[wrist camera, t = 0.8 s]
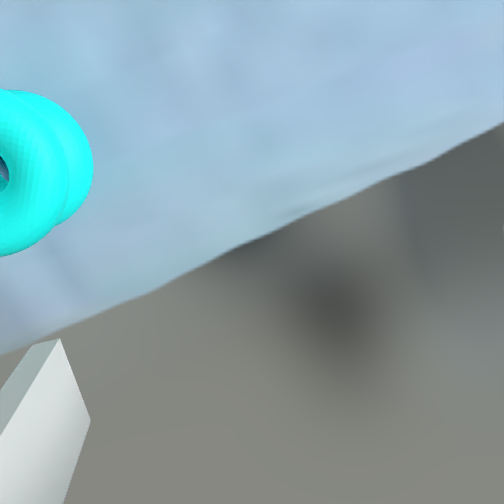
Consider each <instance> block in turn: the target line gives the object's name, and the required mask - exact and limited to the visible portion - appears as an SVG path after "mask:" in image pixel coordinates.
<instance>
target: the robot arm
mask: <svg viewBox="0 0 504 504" xmlns="http://www.w3.org/2000/svg"><path fill="white" fill-rule="evenodd" d="M503 227H504V226H503ZM89 424H90V418H89V415H88V412H87V410H86V407H85V404H84V402H83V399H82V396H81V394H80V391H79V389H78V386H77V383H76V381H75V378H74V375H73V373H72V370H71V367H70V365H69V362H68V359H67V357H66V354H65V351H64V349H63V346H62V344H61V341H60V339H55V340H51V341H47V342H43V343H39V344H35V345H32V346H31V348H30V349H29V350H28V352H27V353H26V355H25V356H24V358H23V359H22V360H21V362H20V363H19V365H18V366H17V367H16V369H15V370H14V372H13V373H12V374H11V376H10V377H9V379H8V380H7V382H6V383H5V384H4V386H3V387H2V389H1V390H0V504H63V502H64V499H65V496H66V493H67V490H68V487H69V484H70V481H71V478H72V475H73V472H74V469H75V466H76V463H77V460H78V457H79V454H80V451H81V448H82V445H83V442H84V439H85V436H86V433H87V430H88V427H89Z"/></svg>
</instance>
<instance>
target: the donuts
mask: <svg viewBox="0 0 504 504" xmlns="http://www.w3.org/2000/svg"><path fill="white" fill-rule="evenodd" d="M0 156H1V157H2V158H3V160H4V161H5V163H6V165H7V167H8V171H9V181H7V180H5V179H4V178H3V177H2V175H1V174H0V257H1V256H7V255H11V254H14V253H17V252H20V251H22V250H24V249H27V248H29V247H30V246H32V245H34V244H35V243H37V242H38V241H39V240H41V239H42V238H43V237H44V236H45V235H47V234H48V233H49V232H50V230H51V229H52V228H53V227H54V226H56V225H58V224H60V223H62V222H64V221H65V220H67V219H68V218H69V217H71V216H72V215H73V214H74V213H75V212H76V211H77V210H78V209H79V208H80V206H81V205H82V204H83V202H84V200H85V199H86V197H87V195H88V193H89V190H90V187H91V183H92V178H93V158H92V153H91V149H90V146H89V143H88V141H87V138H86V136H85V134H84V133H83V131H82V129H81V128H80V126H79V125H78V123H77V122H76V121H75V120H74V119H73V117H72V116H71V115H70V114H69V113H68V112H66V111H65V110H64V109H63V108H62V107H60V106H59V105H57V104H56V103H54V102H53V101H51V100H49V99H47V98H45V97H43V96H40V95H37V94H34V93H30V92H26V91H20V90H3V89H1V88H0Z"/></svg>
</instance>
